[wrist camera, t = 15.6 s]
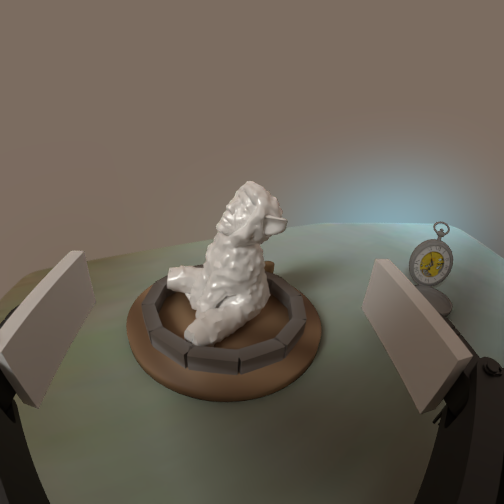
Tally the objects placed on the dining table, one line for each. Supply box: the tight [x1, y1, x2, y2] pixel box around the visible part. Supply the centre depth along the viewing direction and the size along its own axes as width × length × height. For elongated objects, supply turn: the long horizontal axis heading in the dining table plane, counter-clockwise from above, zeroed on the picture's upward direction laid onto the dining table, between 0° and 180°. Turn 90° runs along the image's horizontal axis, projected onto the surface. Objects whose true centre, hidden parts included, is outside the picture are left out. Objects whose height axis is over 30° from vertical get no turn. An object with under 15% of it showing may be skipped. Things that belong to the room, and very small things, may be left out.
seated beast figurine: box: [167, 181, 287, 347], centre depth 23 cm, size 10×9×12 cm
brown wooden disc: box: [126, 261, 321, 402], centre depth 26 cm, size 18×18×3 cm
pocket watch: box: [409, 222, 453, 316], centre depth 30 cm, size 8×8×10 cm
